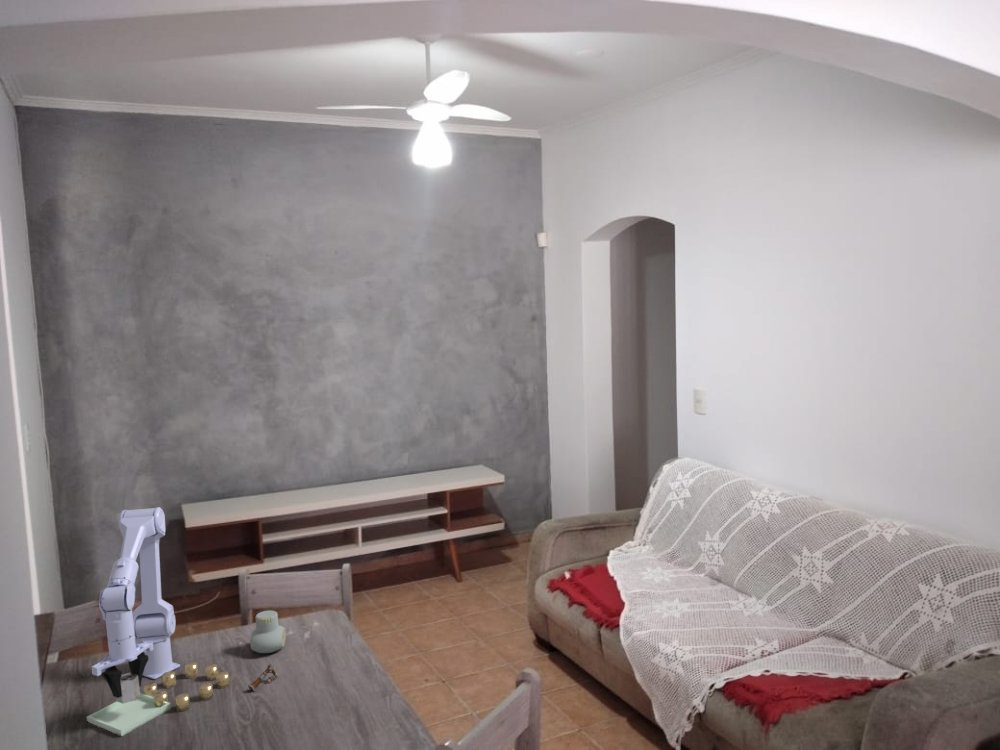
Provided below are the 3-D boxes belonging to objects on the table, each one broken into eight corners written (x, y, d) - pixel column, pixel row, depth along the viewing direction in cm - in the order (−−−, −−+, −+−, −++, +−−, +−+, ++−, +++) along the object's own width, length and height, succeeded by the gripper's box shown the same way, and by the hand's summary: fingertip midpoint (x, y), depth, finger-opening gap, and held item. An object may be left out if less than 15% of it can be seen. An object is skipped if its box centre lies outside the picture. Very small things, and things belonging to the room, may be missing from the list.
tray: (87, 722, 186) (86, 716, 186) (137, 696, 197) (136, 691, 197) (121, 736, 179) (120, 730, 179) (171, 708, 190) (170, 702, 190)
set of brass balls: (134, 700, 195) (132, 689, 195) (195, 668, 210) (194, 657, 210) (179, 716, 186) (178, 704, 186) (239, 682, 202) (238, 671, 201)
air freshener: (257, 641, 225) (254, 607, 224) (287, 638, 226) (284, 605, 225) (250, 659, 214) (246, 624, 213) (281, 656, 215) (278, 621, 214)
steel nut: (112, 699, 187) (110, 679, 186) (129, 690, 191) (127, 670, 190) (126, 705, 184) (124, 684, 184) (143, 695, 188) (141, 675, 187)
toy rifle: (282, 674, 203) (275, 662, 201) (259, 699, 198) (251, 686, 196) (277, 672, 204) (270, 660, 202) (254, 697, 199) (247, 684, 197)
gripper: (102, 652, 178) (108, 709, 179) (159, 626, 190) (164, 680, 191) (83, 646, 181) (90, 702, 183) (140, 621, 194) (146, 674, 195)
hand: (127, 691), depth 187 cm, fingers closed on steel nut, 4 cm apart
